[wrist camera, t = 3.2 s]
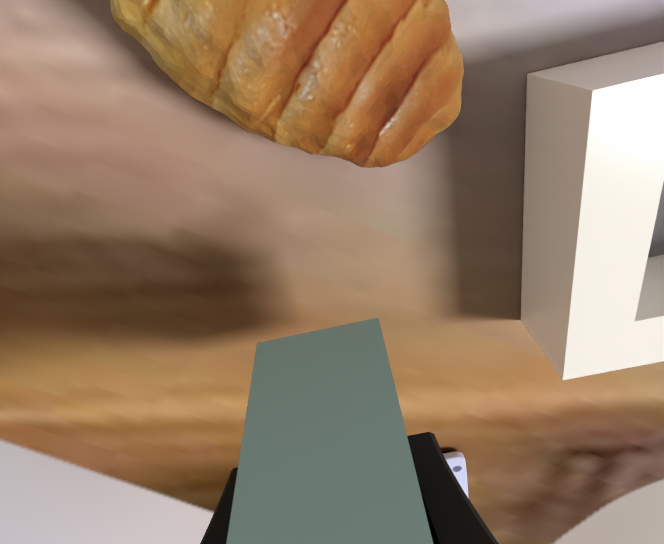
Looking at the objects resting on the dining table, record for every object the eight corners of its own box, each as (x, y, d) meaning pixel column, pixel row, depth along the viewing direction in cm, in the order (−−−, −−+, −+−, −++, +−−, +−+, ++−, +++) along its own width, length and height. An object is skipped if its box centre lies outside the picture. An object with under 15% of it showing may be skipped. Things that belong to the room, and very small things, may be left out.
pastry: (502, 31, 13) (569, 38, 9) (362, 202, 15) (377, 252, 12) (227, -256, 9) (184, -399, 6) (110, 24, 12) (37, 28, 9)
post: (395, 402, 15) (474, 740, 8) (289, 423, 15) (275, 767, 8) (378, 317, 13) (463, 668, 6) (256, 343, 13) (201, 707, 6)
